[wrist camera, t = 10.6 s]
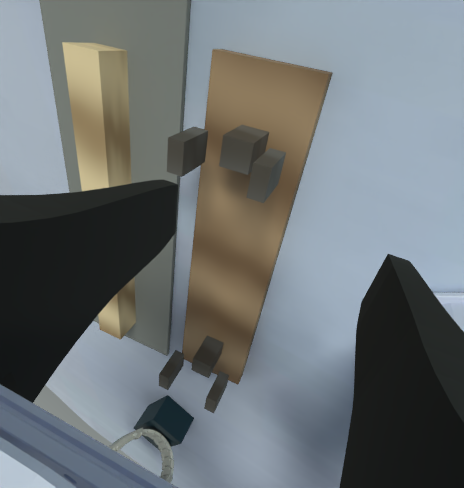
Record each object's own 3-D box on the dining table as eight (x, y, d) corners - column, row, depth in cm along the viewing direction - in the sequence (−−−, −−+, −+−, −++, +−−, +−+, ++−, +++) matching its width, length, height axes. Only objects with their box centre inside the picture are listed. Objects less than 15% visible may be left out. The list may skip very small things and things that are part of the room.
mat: (169, 352, 34) (167, 355, 33) (92, 316, 36) (89, 318, 35) (190, -2, 16) (187, -3, 16) (40, -28, 19) (34, -30, 18)
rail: (136, 322, 32) (120, 339, 30) (116, 313, 33) (100, 329, 31) (127, 50, 19) (98, 50, 17) (93, 42, 19) (62, 42, 17)
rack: (242, 374, 30) (215, 436, 26) (187, 348, 32) (152, 403, 27) (332, 72, 16) (309, 83, 11) (222, 49, 17) (157, 49, 12)
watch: (183, 436, 42) (131, 536, 33) (138, 396, 41) (73, 489, 33) (205, 428, 39) (154, 538, 30) (157, 385, 38) (90, 485, 29)
